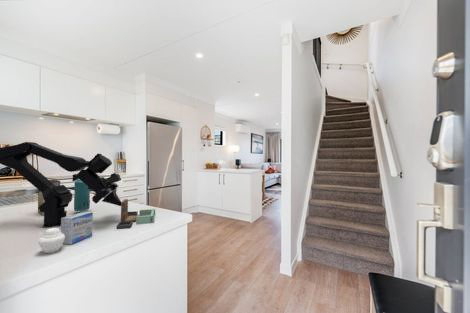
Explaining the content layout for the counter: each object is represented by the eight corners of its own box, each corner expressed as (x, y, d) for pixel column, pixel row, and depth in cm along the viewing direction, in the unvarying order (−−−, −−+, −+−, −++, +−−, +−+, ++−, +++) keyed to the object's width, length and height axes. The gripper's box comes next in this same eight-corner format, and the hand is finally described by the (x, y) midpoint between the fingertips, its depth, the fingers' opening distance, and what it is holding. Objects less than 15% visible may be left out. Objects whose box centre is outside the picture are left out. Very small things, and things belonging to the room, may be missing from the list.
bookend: (120, 223, 87) (121, 202, 87) (123, 218, 94) (124, 199, 94) (148, 221, 91) (148, 201, 91) (149, 217, 98) (150, 198, 98)
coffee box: (36, 213, 100) (37, 180, 100) (53, 210, 105) (54, 179, 105) (43, 216, 95) (43, 181, 95) (60, 213, 101) (61, 180, 100)
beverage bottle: (83, 214, 99) (84, 173, 99) (69, 214, 99) (70, 173, 99) (92, 210, 106) (93, 172, 106) (80, 210, 106) (81, 172, 106)
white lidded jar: (56, 245, 66) (56, 223, 66) (69, 247, 64) (70, 225, 64) (32, 253, 60) (32, 230, 60) (46, 257, 58) (47, 232, 58)
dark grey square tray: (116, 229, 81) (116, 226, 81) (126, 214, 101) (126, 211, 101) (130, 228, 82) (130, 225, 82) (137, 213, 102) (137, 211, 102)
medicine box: (71, 245, 66) (71, 218, 66) (60, 243, 67) (60, 217, 67) (92, 236, 74) (93, 212, 74) (82, 234, 75) (83, 211, 75)
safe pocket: (136, 224, 87) (136, 217, 87) (139, 216, 99) (139, 209, 99) (153, 222, 89) (153, 215, 89) (155, 215, 101) (155, 208, 101)
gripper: (102, 168, 80) (132, 195, 84) (113, 166, 98) (138, 188, 101) (77, 189, 78) (110, 216, 81) (94, 183, 95) (120, 205, 99)
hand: (121, 205), depth 91 cm, fingers closed
